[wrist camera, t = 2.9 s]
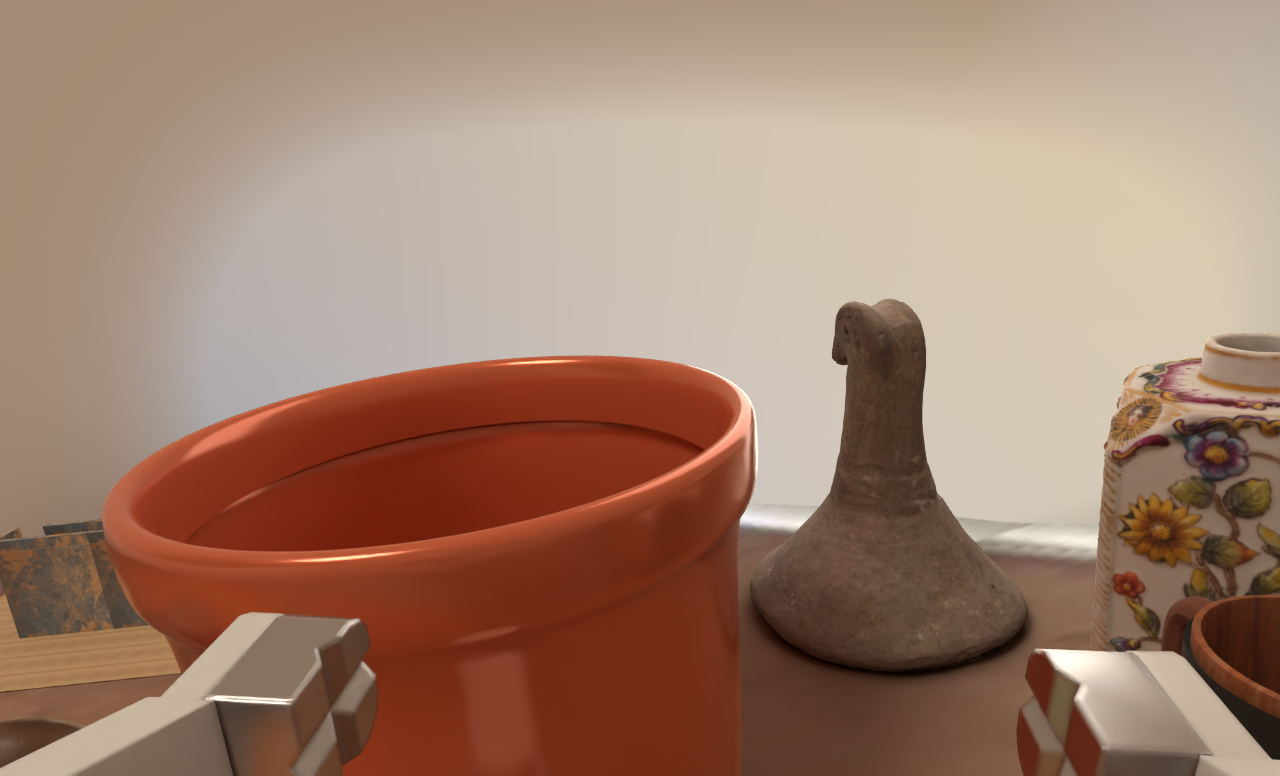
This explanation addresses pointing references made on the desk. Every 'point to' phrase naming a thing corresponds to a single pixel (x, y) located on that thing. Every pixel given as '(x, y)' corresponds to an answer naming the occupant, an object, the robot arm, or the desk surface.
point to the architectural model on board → (70, 613)
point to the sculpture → (885, 529)
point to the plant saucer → (31, 736)
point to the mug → (1234, 656)
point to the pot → (478, 556)
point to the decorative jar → (1189, 489)
